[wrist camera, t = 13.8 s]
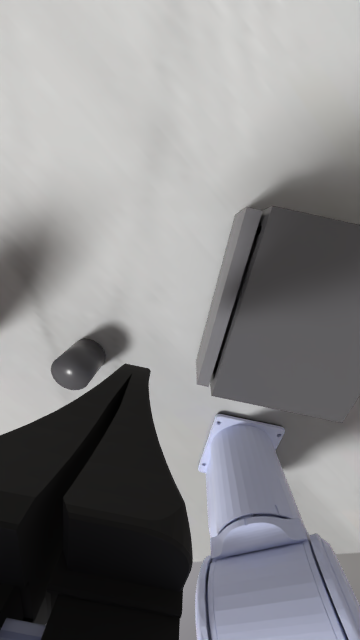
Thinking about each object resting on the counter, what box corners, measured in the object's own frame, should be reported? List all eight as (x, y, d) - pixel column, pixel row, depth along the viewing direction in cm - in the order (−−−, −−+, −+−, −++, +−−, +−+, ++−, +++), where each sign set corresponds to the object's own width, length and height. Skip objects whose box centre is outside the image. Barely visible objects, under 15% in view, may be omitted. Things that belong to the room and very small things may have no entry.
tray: (196, 360, 21) (196, 384, 18) (235, 214, 17) (246, 206, 13) (299, 381, 22) (321, 410, 18) (368, 243, 17) (416, 244, 13)
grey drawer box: (207, 362, 22) (211, 395, 17) (250, 215, 17) (272, 205, 12) (310, 384, 22) (342, 422, 17) (382, 245, 17) (455, 246, 12)
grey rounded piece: (104, 371, 23) (89, 393, 20) (71, 365, 23) (51, 385, 20) (106, 343, 22) (91, 361, 18) (72, 336, 22) (50, 352, 18)
